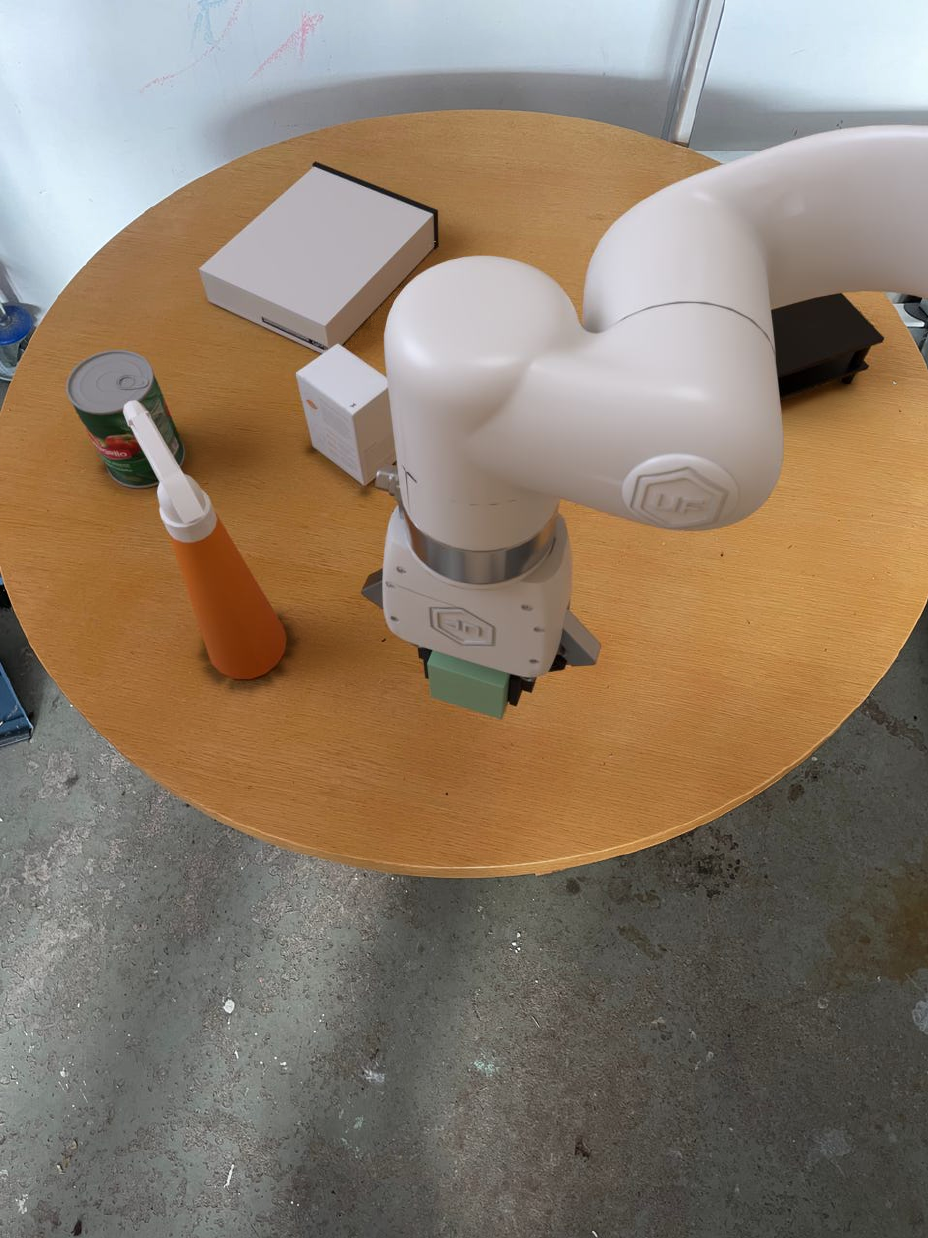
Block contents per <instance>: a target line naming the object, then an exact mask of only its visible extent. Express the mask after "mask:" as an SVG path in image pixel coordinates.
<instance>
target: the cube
mask: <svg viewBox="0 0 928 1238" xmlns="http://www.w3.org/2000/svg"><path fill="white" fill-rule="evenodd" d="M427 665H428V675H429V679H428V684H429V692H430V698H431V699H435V700H438V701H441V702H444V703H446V704H450V705H453V706H457V707H460V708H463V709H466V710H470V711H472V712H475V713H479V714H482V715H485V716H488V717H491V718H495V719H498V720H500V721H501V720H503V718H504V715H505V713H506V710H507V708H508V705H509V702H507V698H508V687H509V678H510V675H511V674H510V673H506V672H503V671H499V670H496V669H493V668H489V667H486V666H483V665H479V664H476V663H473V662H469V661H466V660H463V659H460V658H456V657H453V656H450V655H447V654H444V653H441V652H437V651H434V650H433V651H432V653H431V656H430V658H429V661H428V663H427Z"/></svg>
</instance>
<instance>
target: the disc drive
mask: <svg viewBox="0 0 928 1238" xmlns="http://www.w3.org/2000/svg"><path fill="white" fill-rule="evenodd" d="M311 166H312V167H311V169H309V170H308V171H307V172H306V173H305V174H304V175H303V176H301V177H300V178H299V179H298V180H297V181H296V182H295V183H294V184H292V185H291V186H290V187H289V188H288V189H287V190H285V191H284V192H283V193H282V194H281V195H280V196H279V197H277V199H276V200H274V201H273V202H272V203H271V204H270V205H269V206H268V207H266V208H265V209H264V210H263V211H262V212H261V213H260V214H258V215H257V216H256V217H255V218H254V219H253V220H252V221H250V222H249V223H248V224H247V225H246V226H245V227H244V228H243V229H242V230H241V231H239V232H238V233H237V234H236V235H235V236H234V237H233V238H231V239H230V241H228V242H226V244H225V245H223V247H221V248H220V249H219V250H218V251H217V252H216V253H214V255H213V256H211V257H210V258H209V259H208V260H206V261H205V263H203V264H202V265H201V266H200V267H199V268H198V272H199V275H200V278H201V282H202V285H203V288H204V291H205V295H206V298H207V301H208V302H209V303H211V304H214V305H216V306H217V307H220V308H221V309H224V310H226V311H228V312H231V313H233V314H235V315H237V316H240V317H241V318H244V319H246V320H248V321H250V322H253V323H255V324H256V325H259V326H261V327H263V328H265V329H268V330H269V331H271V332H274V333H276V334H278V335H281V336H283V337H285V338H287V339H289V340H291V341H293V342H295V343H298V344H300V345H301V346H304V347H307V348H308V349H310V350H313V351H315V352H317V353H318V354H319V353H320V354H321V355H322V354H323V353H325V352H326V351H327V350H329V349H330V348H332V347H333V346H335V345H336V344H340V345H341V346H343V345H344V343H346V342H347V340H348V339H349V338H351V336H352V335H353V334H354V333H355V332H356V331H357V330H358V329H359V328H360V326H361V325H362V324H363V323H364V322H365V321H366V320H368V318H369V317H370V316H371V315H372V314H373V313H374V312H375V311H376V310H377V309H378V308H379V306H381V304H382V303H383V302H384V301H385V300H386V299H388V297H389V296H390V295H391V294H392V292H393V291H395V290H396V288H397V287H398V286H399V285H400V284H401V283H402V282H403V281H404V280H405V279H406V278H407V277H408V276H409V275H410V274H411V272H412V271H414V269H415V268H416V267H417V266H418V265H420V263H421V262H422V261H423V260H424V259H425V258H426V257H427V256H428V255H429V253H430V252H431V251H432V250H433V249H434V250H437V249H438V248H439V246H440V245H439V241H440V240H439V210H438V209H436V208H435V207H431V206H430V205H426V204H424V203H422V202H419V201H416V200H414V199H411V198H409V197H407V196H404V195H401V194H399V193H396V192H394V191H391V190H388V189H387V188H383V187H381V186H379V185H376V184H373V183H371V182H369V181H366V180H363V179H362V178H358V177H356V176H354V175H351V174H348V173H346V172H343V171H341V170H338V169H336V168H334V167H331V166H328V165H326V164H323V163H321V162H319V161H314V162H312V164H311ZM434 241H436V242H434ZM430 245H431V246H430ZM429 246H430V247H429Z"/></svg>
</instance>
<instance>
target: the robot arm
mask: <svg viewBox="0 0 928 1238" xmlns="http://www.w3.org/2000/svg"><path fill="white" fill-rule="evenodd" d="M857 292H858V293H859V292H875V293H876V292H880V293H881V292H882V293H892V294H893V293H894V294H902V295H908V296H915V297H918V298H921V299H925V300H928V124H879V125H878V124H876V125H875V124H874V125H864V126H855V127H845V128H844V127H843V128H839V129H835V130H834V129H833V130H829V131H823V132H818V133H814V134H810V135H806V136H803V137H800V138H796V139H793V140H789V141H786V142H783V143H781V144H777V145H774V146H771V147H768V148H765V149H762V150H759V151H757V152H754V153H751V154H748V155H746V156H745V155H744V156H743V157H739V158H737V159H733V160H731V161H729V162H725V163H722V164H720V165H717V166H714V167H711V168H709V169H707V170H704V171H701V172H697V173H696V174H693V175H690V176H688V177H686V178H683V179H681V180H678V181H676V182H674V183H672V184H669V185H668V186H665V187H664V188H662V189H660V190H658V191H656V192H654V193H653V194H651V195H650V196H647V197H646V198H644V199H642V200H641V201H639V202H638V203H636V204H634V205H633V206H632V207H631V208H630V209H628V210H627V211H626V212H624V213H623V214H622V215H621V216H620V217H618V218H617V219H616V220H615V221H614V222H613V223H612V224H611V225H610V227H609V228H608V229H607V231H606V232H605V233H604V235H602V237H601V238H600V240H599V241H598V243H597V245H596V247H595V250H594V252H593V254H592V256H591V258H590V260H589V264H588V267H587V270H586V274H585V280H584V287H583V300H582V315H581V316H582V317H581V318H582V319H581V320H582V321H581V322H580V320H579V316H578V312H577V311H576V308H575V306H574V304H573V302H572V300H571V298H570V297H569V296H568V294H567V293H566V292H565V291H564V289H563V288H562V286H560V284H559V283H558V282H557V281H556V280H555V279H554V278H552V277H551V276H550V275H548V274H547V273H546V272H544V271H542V270H540V269H539V268H537V267H535V266H533V265H530V264H528V263H526V262H523V261H520V260H516V259H512V258H509V257H505V256H504V257H503V256H498V255H497V256H496V255H471V256H470V255H469V256H463V257H458V258H454V259H449V260H446V261H443V262H440V263H438V264H436V265H433V266H431V267H429V268H426V269H425V270H424V271H422V272H420V273H419V274H417V275H416V276H415V277H414V278H413V279H411V281H409V282H407V284H406V285H405V286H404V288H403V289H402V290H401V291H400V292H399V294H398V295H397V296H396V298H395V299H394V302H393V304H392V305H391V308H390V310H389V313H388V315H387V319H386V322H385V327H384V333H383V351H384V365H385V372H386V377H387V382H388V391H389V399H390V408H391V416H392V425H393V433H394V442H395V450H396V459H397V461H396V465H394V464H392V465H391V464H387V463H382V464H381V465H380V467H379V469H378V472H377V475H376V478H375V489H377V490H379V491H384V492H387V493H388V495H389V496H390V497H393V500H394V501H397V505H396V506H395V508H394V510H393V511H392V514H391V515H390V518H389V522H388V525H387V530H386V535H385V542H384V550H383V561H382V563H383V564H382V568H380V569H378V570H376V571H374V572H372V573H370V574H368V575H367V578H366V580H365V582H364V584H363V586H362V588H361V590H360V594H361V595H362V596H363V597H364V598H365V599H366V600H369V601H370V602H371V603H372V604H374V605H376V606H377V607H378V608H380V609H381V610H383V616H384V619H385V622H386V625H387V627H388V629H389V630H390V631H391V633H393V635H395V636H396V637H398V638H400V639H401V640H403V641H406V642H407V643H409V644H411V645H412V646H413V647H417V655H418V658H419V659H420V660H422V662H423V671H424V679H427V680H429V675H428V665H427V663H428V661H429V658H430V656H431V653H432V651H433V650H434V651H437V652H441V653H444V654H447V655H450V656H453V657H456V658H460V659H463V660H466V661H469V662H473V663H476V664H479V665H483V666H486V667H489V668H493V669H496V670H499V671H503V672H506V673H510V674H511V675H510V678H509V687H508V698H507V702H508V705H510V706H513V707H515V708H516V707H518V705H519V701H520V699H521V696H522V693H523V691H524V692H526V693H530V694H532V693H533V690H534V687H535V685H536V682H537V679H538V678H540V677H543V676H545V675H547V674H548V673H552V672H560V671H564V670H565V669H566V666H570V667H572V668H573V667H574V668H575V667H589V666H590V667H591V666H592V667H593V666H595V665H596V664H597V662H598V658H599V656H600V652H601V649H602V643H601V642H600V641H599V639H597V638H596V637H595V635H594V634H592V633H591V631H589V630H588V628H587V627H586V626H585V625H584V624H583V623H582V622H581V621H580V620H579V618H577V617H576V615H574V613H573V612H572V611H571V610H570V609H571V604H572V595H573V594H572V593H573V554H572V547H571V540H570V539H571V538H570V534H569V530H568V527H567V523H566V519H565V517H564V516H563V515H562V514H561V513H559V508H560V501H561V500H564V501H567V502H570V503H572V504H576V505H578V506H579V505H580V506H583V507H585V508H589V509H592V510H595V511H598V512H601V513H604V514H606V515H609V516H612V517H616V518H619V519H623V520H625V521H629V522H631V523H633V522H634V523H636V524H639V525H644V526H648V527H652V528H658V529H662V530H669V531H678V532H679V531H680V532H705V531H712V530H719V529H722V528H725V527H729V526H732V525H735V524H737V523H739V522H741V521H743V520H745V519H747V518H749V517H750V516H752V515H753V514H755V513H757V511H758V510H759V509H761V508H762V506H764V504H765V503H766V502H767V501H768V500H769V498H770V497H771V495H772V493H773V492H774V490H775V488H776V486H777V485H778V482H779V479H780V478H781V477H780V476H781V473H782V468H783V464H784V448H785V447H784V446H785V443H784V442H785V434H784V424H783V423H784V422H783V414H782V405H781V400H780V396H779V387H778V378H777V369H776V353H775V342H774V332H773V324H772V315H771V310H772V309H776V308H779V307H783V306H786V305H790V304H794V303H797V302H801V301H805V300H808V299H812V298H816V297H822V296H827V295H832V294H837V293H842V294H845V293H857ZM581 323H582V324H581Z"/></svg>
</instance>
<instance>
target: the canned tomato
mask: <svg viewBox="0 0 928 1238" xmlns="http://www.w3.org/2000/svg"><path fill="white" fill-rule="evenodd" d="M65 392H66V395H67V397H68V400H69V401H70V402H71V404H72V406H73V408H74V410H75V412H76V414H77V415H78V418H79V420H80V421H81V423H82V425H83V427H84V428H85V430H86V432H87V434H88V436H89V438H90V440H91V442H92V443H93V445H94V447H95V449H96V451H97V453H98V454H99V456H100V458H101V459H102V463H103V464H104V465H105V467H106V469H107V471H108V474H109V475H110V477H111V478H112V479H113V480H114V481H116V482H117V484H119V485H121V486H123V487H127V488H131V489H149V488H153V487H156V486H159V483H160V482H159V480H158V478H157V476H156V474H155V472H154V470H153V469H152V467H151V465H150V463H149V461H148V459H147V457H146V455H145V454H144V452H143V450H142V448H141V447H140V445H139V443H138V441H137V439H136V437H135V435H134V433H133V431H132V429H131V427H129V426H128V424H127V421H126V419H125V416H124V413H123V409H124V405H125V404H126V403H128V402H129V401H134V400H136V401H138V402H139V403H141V404H142V405H143V406H144V407H145V409H146V410H147V411H148V412H149V414H150V415H151V416H152V417H151V418H152V420H153V422H154V424H155V425H156V427H157V429H158V431H159V432H160V434H161V436H162V437H163V439H164V441H165V443H166V444H167V446H168V448H169V450H170V451H171V453H172V455H173V457H174V458H175V460H176V462H177V464H178V465H179V467H180V469H181V468H182V466H183V464H184V461H185V458H186V450H185V445H184V443H183V441H182V439H181V437H180V434H179V431H178V429H177V426H176V423H175V422H174V419H173V416H172V414H171V412H170V409H169V406H168V404H167V402H166V400H165V397H164V395H163V393H162V389H161V387H160V385H159V382H158V380H157V378H156V375H155V374H154V368H153V367H152V365H151V363H150V361H148V360H147V358H145V357H144V356H143V355H141V354H139V353H137V352H134V351H130V350H126V349H109V350H105V351H101V352H98V353H95V354H92V355H90V356H88V357H86V358H85V359H83V360H82V361H80V362H78V364H77V365H76V366H75V367H74V368H73V369H72V370H71V372H70V373H69V375H68V377H67V379H66V384H65Z"/></svg>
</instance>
